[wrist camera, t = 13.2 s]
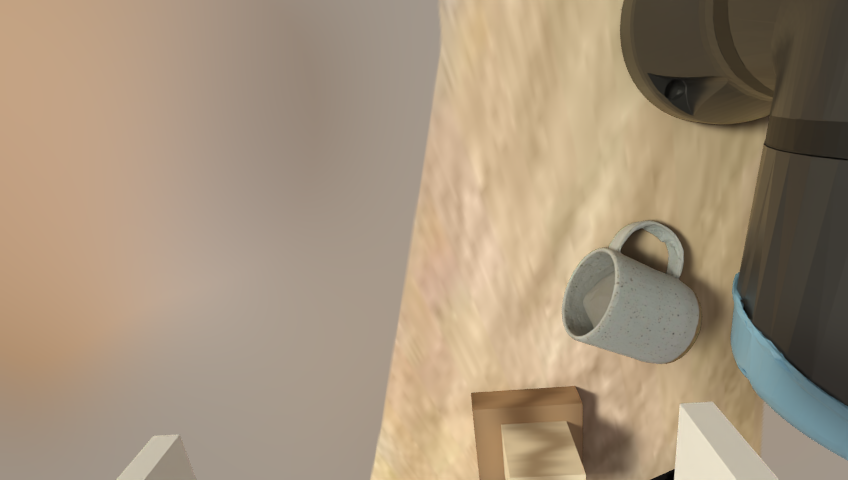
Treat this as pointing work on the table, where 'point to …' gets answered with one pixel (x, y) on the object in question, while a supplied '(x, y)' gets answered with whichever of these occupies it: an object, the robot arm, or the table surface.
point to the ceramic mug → (633, 301)
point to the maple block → (540, 452)
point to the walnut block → (520, 420)
